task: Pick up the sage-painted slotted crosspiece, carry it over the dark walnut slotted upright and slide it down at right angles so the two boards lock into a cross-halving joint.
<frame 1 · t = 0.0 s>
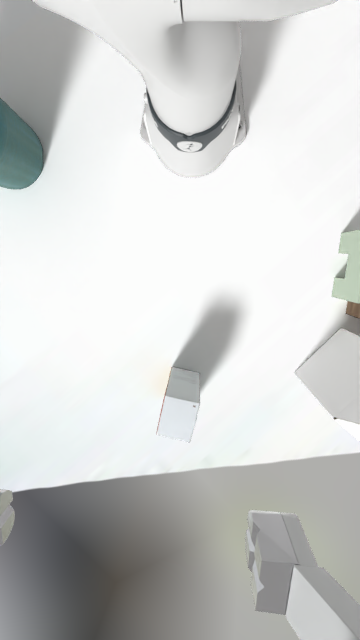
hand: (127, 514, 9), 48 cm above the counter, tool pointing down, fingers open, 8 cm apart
gable box: (352, 382, 58), on the counter
crosspiece: (343, 265, 53), on the counter
flower pot: (13, 156, 52), on the counter
small box: (181, 385, 60), on the counter
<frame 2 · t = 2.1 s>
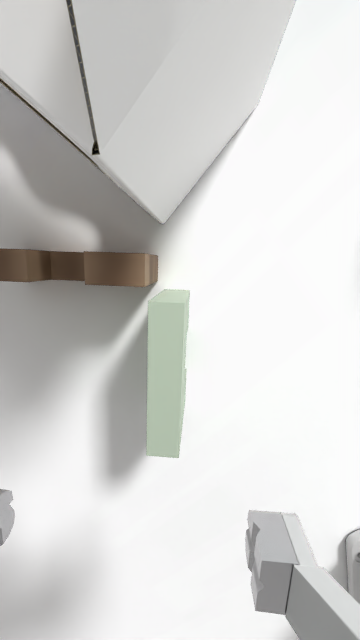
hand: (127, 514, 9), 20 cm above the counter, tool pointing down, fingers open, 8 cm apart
gable box: (116, 84, 24), on the counter
crosspiece: (175, 347, 29), on the counter
upright: (88, 266, 28), on the counter
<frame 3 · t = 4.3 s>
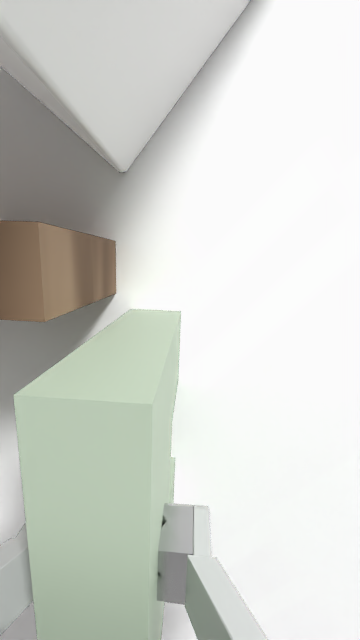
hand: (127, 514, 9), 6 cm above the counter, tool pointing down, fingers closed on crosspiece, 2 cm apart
crosspiece: (153, 419, 15), on the counter, touching gripper
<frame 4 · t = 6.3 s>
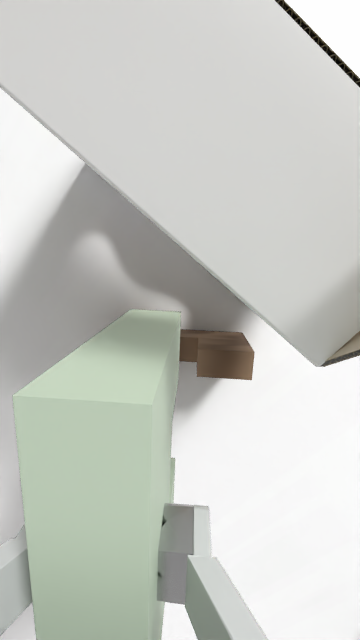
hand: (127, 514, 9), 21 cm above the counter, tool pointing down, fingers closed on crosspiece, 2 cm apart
gable box: (213, 183, 27), on the counter
crosspiece: (153, 419, 15), point 15 cm above the counter, touching gripper
upright: (176, 340, 30), on the counter
when the fingers open (8 cm above the counter, at t = 8.5 s): crosspiece drops 2 cm, on the counter.
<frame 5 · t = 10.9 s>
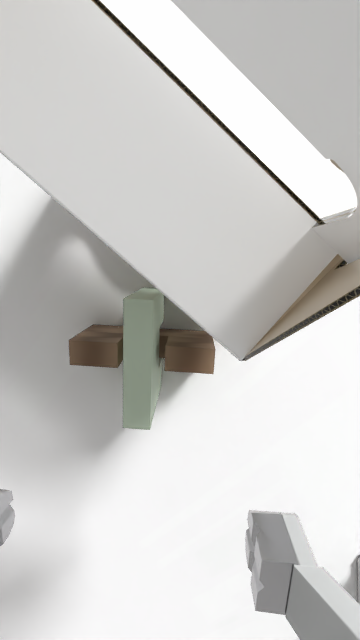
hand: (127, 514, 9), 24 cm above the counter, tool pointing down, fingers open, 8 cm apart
gable box: (183, 195, 29), on the counter
crosspiece: (152, 338, 33), on the counter
upright: (151, 338, 33), on the counter
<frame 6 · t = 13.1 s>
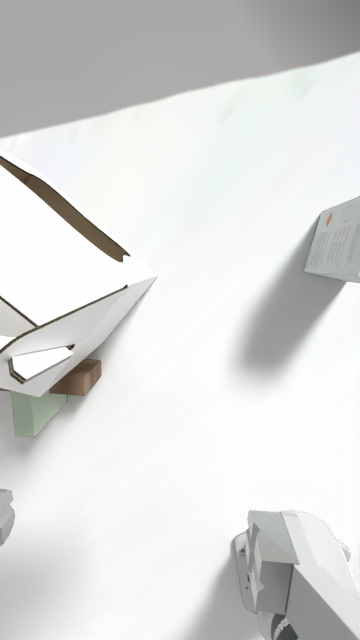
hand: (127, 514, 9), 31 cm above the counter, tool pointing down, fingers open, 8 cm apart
gable box: (71, 260, 39), on the counter
crosspiece: (57, 365, 42), on the counter
upright: (56, 365, 42), on the counter
small box: (334, 247, 37), on the counter
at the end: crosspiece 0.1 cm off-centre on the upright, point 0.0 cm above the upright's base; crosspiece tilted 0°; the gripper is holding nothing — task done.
